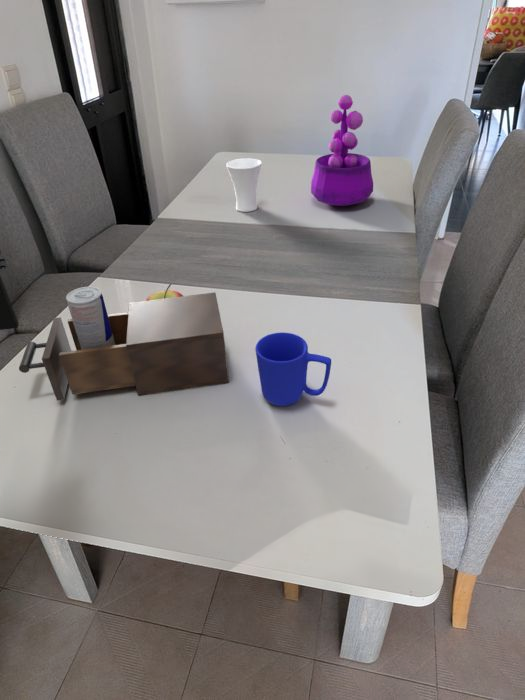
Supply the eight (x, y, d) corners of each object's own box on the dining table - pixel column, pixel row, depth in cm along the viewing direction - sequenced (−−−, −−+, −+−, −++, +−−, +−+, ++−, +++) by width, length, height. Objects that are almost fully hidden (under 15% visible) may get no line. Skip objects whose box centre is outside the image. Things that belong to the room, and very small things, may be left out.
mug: (322, 421, 81) (324, 371, 75) (251, 405, 85) (247, 356, 79) (335, 389, 87) (337, 340, 81) (268, 375, 91) (265, 328, 85)
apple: (194, 334, 102) (188, 290, 97) (152, 344, 100) (143, 300, 95) (185, 314, 109) (178, 272, 103) (145, 323, 107) (136, 280, 101)
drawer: (26, 405, 86) (8, 363, 81) (39, 361, 96) (24, 321, 91) (144, 388, 88) (134, 346, 83) (145, 347, 98) (136, 307, 93)
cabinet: (138, 395, 88) (125, 345, 82) (140, 350, 99) (129, 302, 93) (228, 382, 90) (223, 332, 84) (220, 339, 101) (215, 292, 95)
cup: (254, 216, 152) (251, 169, 144) (223, 212, 156) (219, 166, 148) (269, 204, 160) (267, 159, 152) (239, 200, 164) (236, 156, 156)
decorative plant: (373, 192, 164) (382, 88, 147) (370, 214, 150) (379, 101, 132) (315, 190, 168) (316, 89, 151) (305, 211, 154) (306, 101, 136)
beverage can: (125, 369, 91) (106, 295, 82) (93, 381, 89) (70, 306, 80) (114, 354, 95) (95, 282, 86) (84, 365, 93) (61, 291, 84)
